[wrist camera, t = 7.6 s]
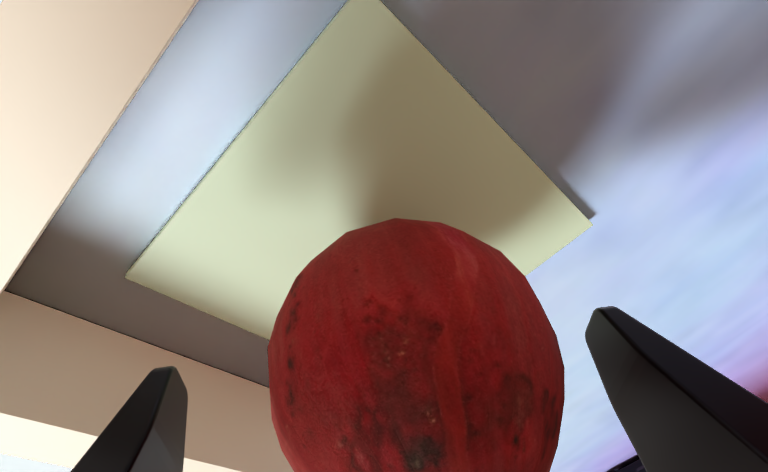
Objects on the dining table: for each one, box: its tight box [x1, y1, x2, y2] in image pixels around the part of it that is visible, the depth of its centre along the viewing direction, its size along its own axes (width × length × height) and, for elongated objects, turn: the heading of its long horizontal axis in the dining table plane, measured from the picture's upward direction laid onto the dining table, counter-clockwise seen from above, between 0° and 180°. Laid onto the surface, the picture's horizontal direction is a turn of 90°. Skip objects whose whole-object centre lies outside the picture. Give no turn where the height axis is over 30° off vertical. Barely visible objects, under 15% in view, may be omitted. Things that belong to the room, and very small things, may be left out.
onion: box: [268, 218, 564, 472], centre depth 9 cm, size 6×6×8 cm
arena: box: [0, 0, 593, 472], centre depth 11 cm, size 15×17×3 cm
